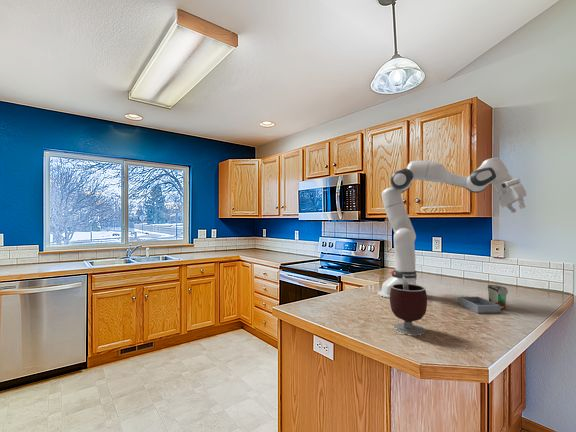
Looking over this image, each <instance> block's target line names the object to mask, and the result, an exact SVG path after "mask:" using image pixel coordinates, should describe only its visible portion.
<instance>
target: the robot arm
mask: <svg viewBox="0 0 576 432" xmlns="http://www.w3.org/2000/svg"><path fill="white" fill-rule="evenodd" d="M512 176H513V175H511V174H510V173H509V170H508V167H507V166H506V164H505V163H504V162H503V160H502V159H501V158H499V157H490V158H487V159H485V160H484V161H483V162H482V163H481V165H480V166H479V167H477V168H476V169H475V170H474V171H473V172H471V174H469V176H468V175H467V176H466V175H461V174H457V173H452V172H450V171H449V170H447V169H446V167H445V166H444V165H443V164H442V163H439V162H436V161H430V160H411V161H409V162H408V164H407V166H406V168H402V169H399V170H397V171H395V172H393V174H392V175H391V176H390V180H389V181H390V186H389V187H386V188H385V189H384V190H383V191H382V192H381V199H382V204H383V207H384V210H385V211H384V212H385V214H386V217H387V219H388V222H389V225H390V226H391V228H392V231H393V232H394V234H393V248H394V263H395V264H394V270H392V269H390V270H389V274H390V275H391V276H390V277H389V278H388V279H386V280H385V281H383V282H382V285H381V290H380V289H379V290H378V291H377V294H378V295H379V296H380V297H382V296H383V298H385V297H386V299H390V290H391V285H394V284H403V276H404V277H405V278H406V280H407V282H408V284H413V285H417V279H418V278H417V270H416V250H415V249H416V248H415V241H416V239H417V234H416V232H415V229H414V226H413V224H412V222H411V219H410V217H409V215H408V211H407V210H406V209H407V208H406V206H405V204H404V200H403V198H402V194H403V193H405V192H406V191H407V190H409V189H410V187H411V185H412V182H413V181H416V180H420V181H425V182H432V183H439V184H440V183H441V184H445V185H446V184H447V185H451V186H455V187H460V188H463V189H466V190H467V191H469V192H471V193H475V194H478V193H483V192H484V191H485V190H486V189H487V187H488V186H489V185H490V184H492V186H493V188H494V189H495V191H496V193H497V195H496V197H497V201H498V203H499V205H500V206H501V207H502V208H507V209H508V210H509V211H510V213H511V214H514V213H516V212H517V210H516V208H515V207H514V206H513V204H514V203H516V202H517V203H518V204H519V206H518V207H519V209H524V208H526V205H525V200H524V198H525V197H527V190H526V189H525V187H524V185H523V184H522V183H521V180H520V177H516V178H513V177H512Z"/></svg>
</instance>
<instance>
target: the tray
mask: <svg viewBox="0 0 576 432" xmlns="http://www.w3.org/2000/svg"><path fill="white" fill-rule="evenodd" d="M457 304H458V305H461V306H462V307H464V308H466V309H468V310H470V311H472V312H475V313H476V314H501V310H500V305H498V304H495V303H493V302H490V301H489V299H488V300H487V299H485V298H482V297H481V296H457Z"/></svg>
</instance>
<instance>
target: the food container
mask: <svg viewBox="0 0 576 432" xmlns="http://www.w3.org/2000/svg"><path fill="white" fill-rule="evenodd" d="M487 289H488V290H487V291H488V301H490V302H493V303H495V304H498V305H500V311H505V309H506V307H507V306H506V304H507V294H509V291H508V288H507V287H505V286H501V285H497V284H487Z"/></svg>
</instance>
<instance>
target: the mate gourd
mask: <svg viewBox="0 0 576 432" xmlns="http://www.w3.org/2000/svg"><path fill="white" fill-rule="evenodd" d="M427 295H428V294H427V291H426V287H425V286H422V285H418V284H416V285H413V284H408V282H407V280H406V278H405V277H404V276H403V284H394V285H391V290H390V298H389V305H390V309H391V312H392V313H393V315H394V316H395V317H396V318H398V319H400V320H402V321H404V322H401V323H399V322H398V323H395V324H393V325H392V326H394V328H397V329H396V331H398V332H401V333H404V334H411V335H420V334H423V335H425V334H426V329H425V328H424V327H422V326H420V325H417V324H415V323H414V324H413V322H416V321H419V320H421V319H423V317H424V316H425V315H426V314H427V307H428V297H427ZM394 328H393V329H394ZM393 329H392V330H393ZM424 333H425V334H424ZM420 336H421V335H420Z"/></svg>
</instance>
